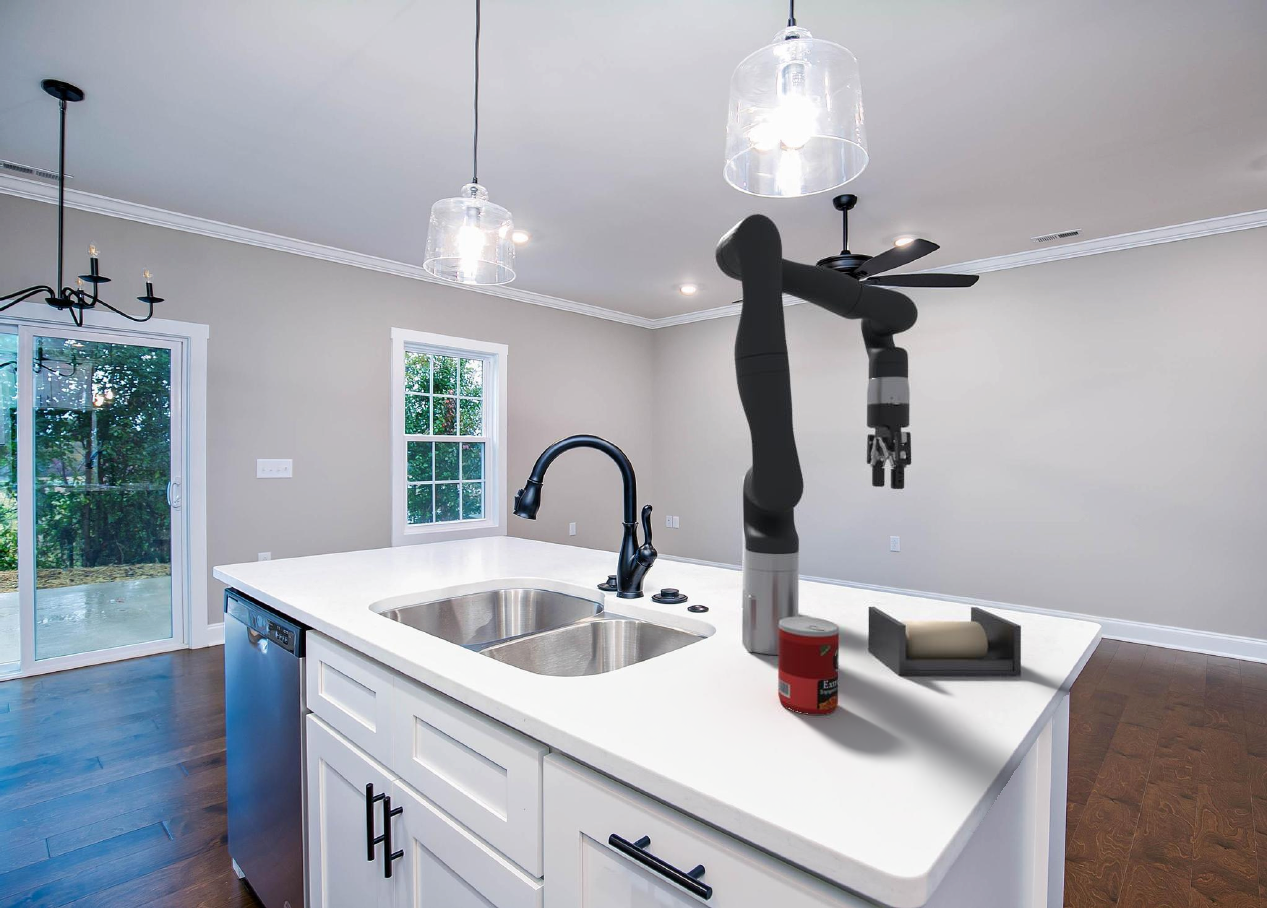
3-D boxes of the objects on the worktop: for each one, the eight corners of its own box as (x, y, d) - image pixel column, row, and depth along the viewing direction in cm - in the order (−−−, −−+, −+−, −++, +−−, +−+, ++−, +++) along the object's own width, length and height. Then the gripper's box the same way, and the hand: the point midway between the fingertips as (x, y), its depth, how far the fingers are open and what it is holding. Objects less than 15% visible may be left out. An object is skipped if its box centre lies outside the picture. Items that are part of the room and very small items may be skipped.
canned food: (830, 721, 79) (830, 635, 79) (769, 707, 83) (770, 625, 83) (844, 701, 85) (845, 621, 85) (787, 689, 89) (788, 613, 89)
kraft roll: (906, 665, 99) (907, 628, 98) (889, 650, 105) (891, 616, 104) (992, 665, 99) (994, 629, 98) (971, 651, 105) (973, 616, 104)
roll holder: (899, 676, 95) (899, 625, 95) (868, 651, 107) (868, 606, 107) (1020, 676, 96) (1020, 626, 96) (976, 652, 108) (976, 607, 108)
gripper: (854, 405, 125) (854, 486, 125) (884, 399, 111) (883, 489, 110) (891, 406, 125) (890, 486, 125) (925, 399, 111) (925, 489, 111)
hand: (887, 487), depth 118 cm, fingers open, 8 cm apart
